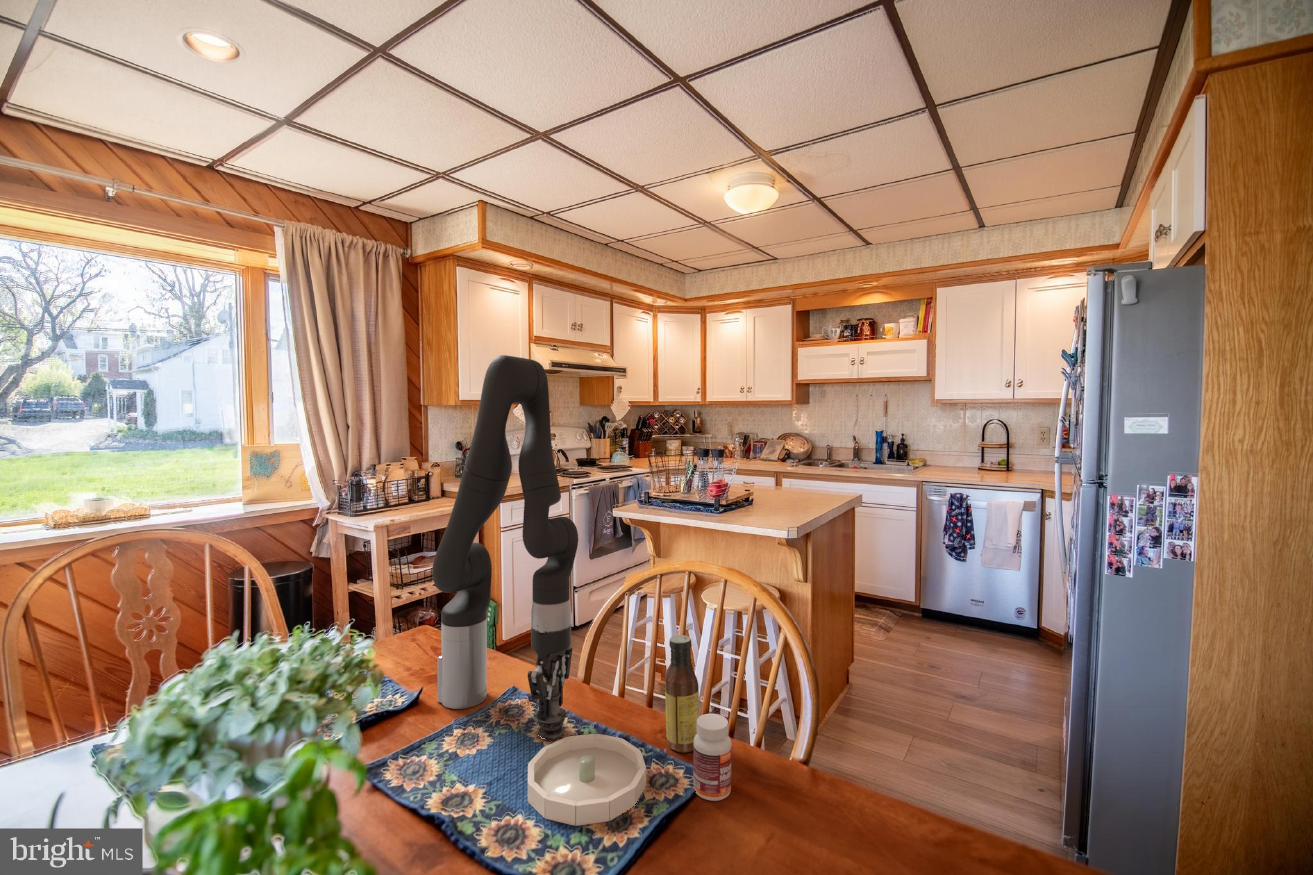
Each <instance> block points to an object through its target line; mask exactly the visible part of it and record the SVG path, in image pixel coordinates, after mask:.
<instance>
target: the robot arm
mask: <svg viewBox="0 0 1313 875" xmlns="http://www.w3.org/2000/svg"><path fill="white" fill-rule="evenodd" d="M485 371H486V372H485V374H484V378H483V379H484V380H483V382H482V383H483V384H482V389H481V396H480V401H479V407H478V412H477V419H476V423H475V428H474V431H473V435H472V439H471V443H470V448H469V450H468V454H467V458H466V460H465V463H464V467H463V470H462V473H461V477H460V481H459V486H458V490H457V493H456V496H455V501H454V504H453V507H452V509H451V510H452V511H451V514H450V517H449V519H448V522H447V525H446V527H445V530H444V533H443V535H442V537H441V540H440V543H439V545H438V547H437V550H436V552H435V555H434V558H433V563H432V567H431V568H432V573H431V574H432V580H433V583H434V585H435V588H437V590H439V591H440V592H442V593H445V594H448V593H449V594H450V593H451V594H452V593H455V595H454V597H453V598H451V600H450V601H449V602H447V603H446V604H445V605H444V606H443V607H442V608H441V609H442V610H441V611H440V612H441V615H440V617H441V618H440V619H441V620H440V621H441V626H440V627H441V631H440V632H441V634H440V635H441V637H440V638H441V640H440V641H441V642H440V643H441V655H439V656H437V659H436V660H437V664H436V665H437V670H436V671H437V702H438V703H441V704H442V705H443V706H444V707H445V708H447V709H453V710H462V709H463V710H464V709H469V708H472V707H475V706H477V705H480V704H481V703H483V702H485V700H486V699H487V696H488V694H487V693H488V684H487V683H488V678H487V677H488V668H487V667H488V664H487V663H488V660H487V658H488V653H487V652H488V651H487V650H488V649H487V648H488V646H487V644H488V639H487V638H488V636H487V634H488V632H487V630H488V629H487V628H488V627H487V626H488V625H487V624H488V620H487V618H488V615H487V614H488V609H489V606H490V604H491V598H492V597H491V594H492V573H493V570H492V569H493V568H492V567H493V566H492V557H491V555H490V553H489V551H488V549H487V548H486V546H484V545H483V544H482V543H479V542H474V541H475V538H476V537H477V534H478V533H479V532H480V530H481V529H482V528H483V526H484V525H485V523H487V522H488V520H489V518H490V517H491V516H493V513H494V512H495V511H496V510H497V509H498V507H499V506H500V504H501V503H502V501H503V499H504V498H505V495H506V493H507V492H506V491H507V489H508V485H509V481H510V477H511V476H512V471H513V461H512V460H513V459H512V456H511V455H512V454H511V451H510V448H509V444H508V441H507V436H506V435H507V434H506V432H507V431H506V429H507V423H508V422H507V421H508V418H509V414H510V411H511V408H512V406H513V405H521V409H522V411H523V416H524V422H525V430H524V437H523V441H522V444H521V448H520V452H519V457H518V466H517V467H518V474H519V479H520V480H519V481H520V485H521V490H522V495H523V499H524V503H523V517H522V518H523V520H522V542H523V545H524V549H525V550H526V551H527V553H528V554H529V555H530V556H532V557H533V558H535V559H537V560H541V559H546V558H547V559H546V562H545V563H544V564H543V565H542V566H540V567H539V568H538V569H536V570H535V571H534V572H533V576H532V602H531V610H530V612H531V613H530V630H531V631H530V647H531V649H532V651H534V652H535V653H536V655H537V658H536V662H535V666H536V667H535V668H534V670H529V671H528V673H527V681H528V684H529V685H528V686H529V692H530V696H531V699H533V700H538V703H539V704H538V711H539V716H540V717H541V718H546V719H548V718H550V717H551V692H552V686H554V685H555V680H556V676H557V677H558V680H559V692H560V694H561V695H560V697H559V707H560V708H561V706H563V704H564V687H565V685H566V680H568V679H569V677H570V671H571V663H572V655H573V647H571V645H572V607H571V598H570V597H571V596H570V591H571V590H570V589H571V588H570V587H571V585H570V584H571V574H572V571H573V568H574V563H575V559H576V556H577V555H576V554H577V551H578V546H579V532H578V529H577V528H578V527H577V526H576V524H575V522H574V520H572V519H571V518H569V517H568V516H567V517H566V516H558V517H551V518H549V513H550V507H551V506H553V505H556V504H558V503H559V502H560V500H561V498H562V495H561V494H562V493H561V488H560V483H559V482H560V481H559V479H558V474H557V469H556V464H555V459H554V453H553V446H552V445H553V444H552V434H551V433H552V431H551V430H552V429H551V412H550V411H551V410H550V394H549V383H548V377H547V372H546V370H545V368H544V366H543V365H542V364H541V363H540V362H539V361H537V360H534V359H530V358H525V357H518V356H513V355H505V354H504V355H503V354H502V355H497V356H495V357H494V359H492V361H491V362H490V363H489V364H488V367H487V369H486V370H485ZM545 678H547V679H550V681H547V680H544V679H545ZM545 686H547V692H546V690H545Z"/></svg>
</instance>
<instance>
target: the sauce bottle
mask: <svg viewBox="0 0 1313 875" xmlns="http://www.w3.org/2000/svg"><path fill="white" fill-rule="evenodd" d="M692 645H693V644H692V638H691V637H690V636H688V635H685V634H684V635H682V634H681V635H679V634H678V635H673V636H671V637H670V638H669V648H670V663H669V666H668V668H666V673H665V677H664V678H665V679H664V681H665V682H664V683H665V690H664V692H665V693H664V698H665V729H666V731H665V732H666V734H665V736H666V738H667V745H668V747H669V749H671V750H674V751H675V752H677V753H690V752H694V745H693V744H694V737H695V735H696V734H697V731H696V729H697V719H698V718H699V717H700V696H699V695H700V691H699V682H698V678H697V676H696V674H695V670H694V666H693V663H692V658H691V657H692V656H691V655H692V654H691V651H692V650H691V649H692V648H691V647H692Z"/></svg>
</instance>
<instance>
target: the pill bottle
mask: <svg viewBox="0 0 1313 875" xmlns="http://www.w3.org/2000/svg"><path fill="white" fill-rule="evenodd" d="M696 731H697V734H696V735H695V737H694V744H693V745H694V751H693V774H692V776H693V779H692V780H693V782H692V783H693V785H694V787H693V789H694V788H695V791H696V792H695V791H694V792H695V793H696V795H697V796H699V797H700V799H701V798H702V799H704V800H707V801H711V802H717V801H722V800H724V799H726V798H727V797H729V795H730V793H731V790H732V740H731V738H730V736H729V721H728V719H727V718H726V717H724V716H723V715H721V714H717V713H705V714H702V715H699V718H698V719H697V729H696Z"/></svg>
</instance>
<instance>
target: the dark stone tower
mask: <svg viewBox="0 0 1313 875" xmlns="http://www.w3.org/2000/svg"><path fill="white" fill-rule="evenodd" d="M544 680H547V681H550V679H547V678H544ZM545 690H546V692H547V686H545ZM560 695H561V694H560V692H559V680H558V677H557V676H556V680H555V685H554V686H552V692H551V717H550V718H548V719H546V718H541V717H540V716H539V710H538V711H537V712H536V714H535V719H536V720H537V722H536V723H537V725H538V727H539V729H538V730H537V732H536V733H538V734H537V735H539V737H540V736H541V737H542V738H545V739H546V740H545V741H555V740H554V739H556V740H558V739H557V738H559V737H561V736H562V737H564V736H565V734H564V733H566V730H565V727H563V724H564V722H565V721H566V720H565V719H566V717H567V716H568V715H567V711H566V710H565V709H564V708H563V707H561V706H560V707H559V697H560ZM537 735H536V736H537ZM539 737H538V738H539ZM541 737H540V738H541ZM562 737H561V738H562ZM540 738H539V739H540ZM559 739H560V738H559Z"/></svg>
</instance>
